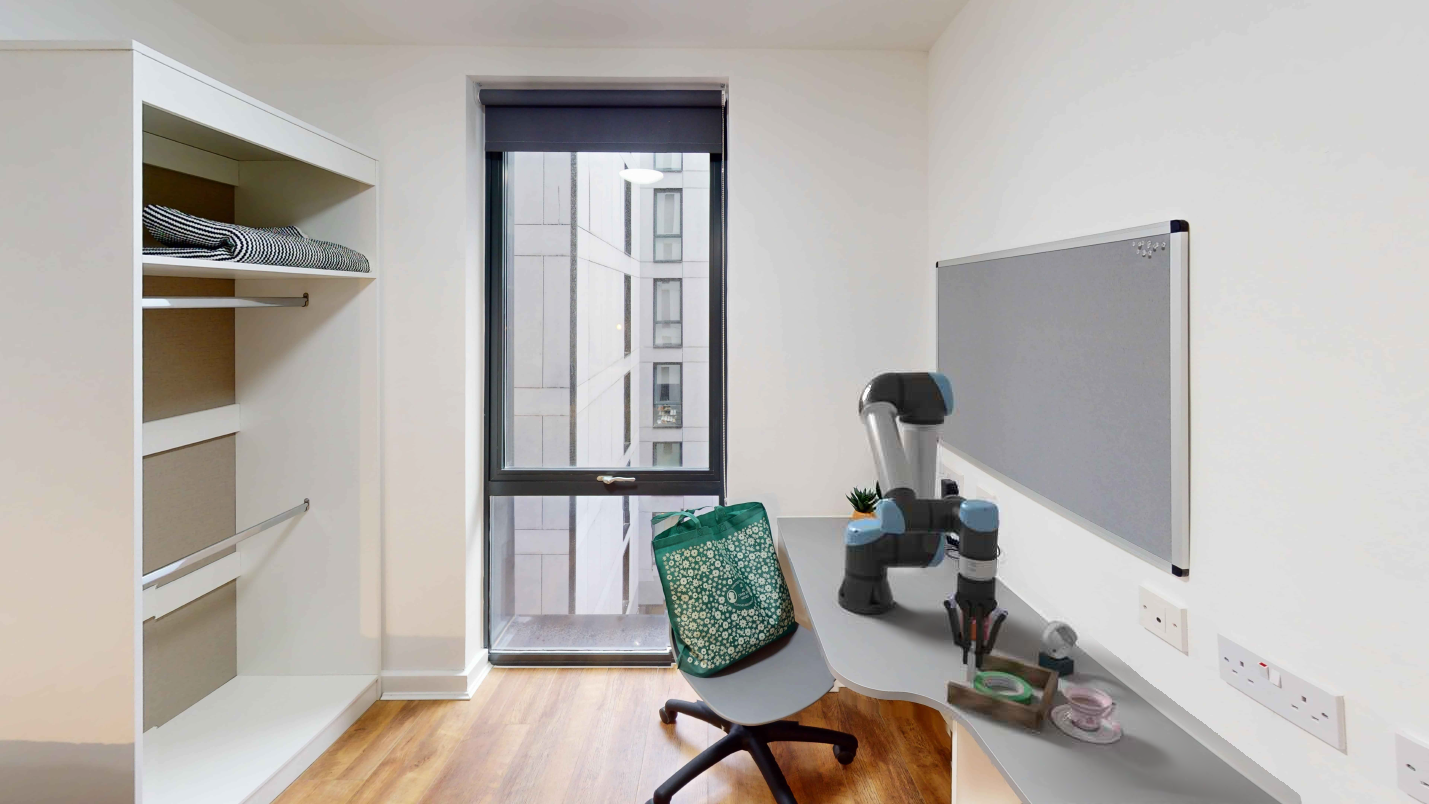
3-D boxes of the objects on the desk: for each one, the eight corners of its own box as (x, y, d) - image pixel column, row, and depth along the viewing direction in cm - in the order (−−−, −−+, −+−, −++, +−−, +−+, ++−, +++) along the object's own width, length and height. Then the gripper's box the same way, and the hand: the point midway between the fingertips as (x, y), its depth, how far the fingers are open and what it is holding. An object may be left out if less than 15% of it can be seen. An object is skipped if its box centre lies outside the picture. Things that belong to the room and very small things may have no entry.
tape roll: (997, 676, 143) (997, 665, 142) (1043, 702, 133) (1043, 690, 133) (962, 690, 137) (963, 679, 137) (1007, 718, 128) (1008, 705, 127)
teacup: (1059, 739, 121) (1060, 708, 120) (1044, 703, 132) (1045, 675, 132) (1131, 749, 118) (1133, 718, 117) (1109, 711, 129) (1111, 682, 128)
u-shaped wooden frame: (947, 701, 133) (947, 683, 132) (971, 664, 147) (972, 647, 147) (1041, 733, 122) (1042, 713, 122) (1057, 689, 137) (1058, 671, 136)
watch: (1080, 672, 144) (1083, 625, 142) (1052, 679, 141) (1055, 631, 140) (1058, 660, 149) (1061, 614, 148) (1032, 666, 146) (1034, 620, 145)
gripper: (939, 573, 136) (935, 677, 139) (1005, 587, 129) (1000, 698, 131) (950, 562, 142) (946, 663, 145) (1013, 575, 135) (1008, 681, 137)
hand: (971, 679), depth 138 cm, fingers closed
